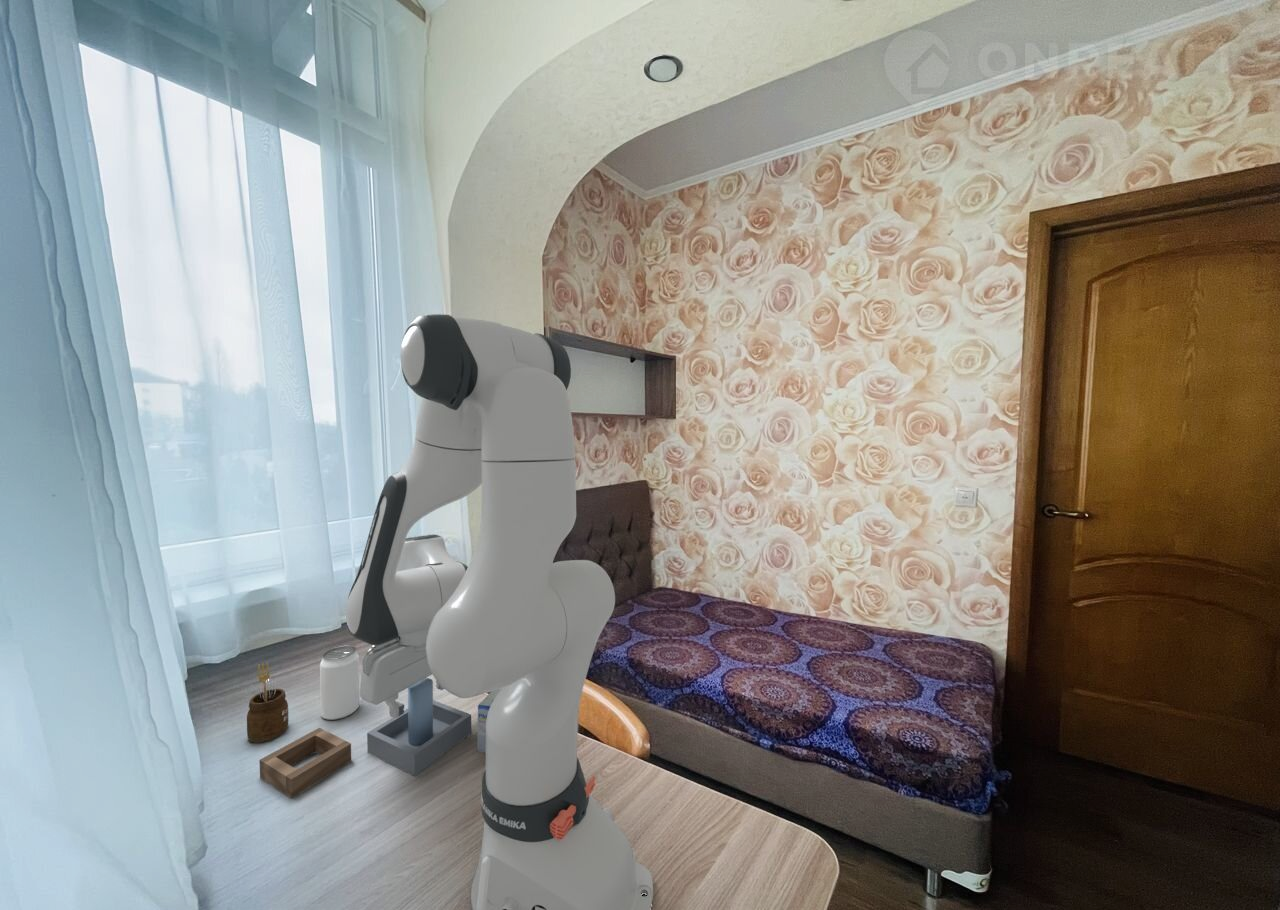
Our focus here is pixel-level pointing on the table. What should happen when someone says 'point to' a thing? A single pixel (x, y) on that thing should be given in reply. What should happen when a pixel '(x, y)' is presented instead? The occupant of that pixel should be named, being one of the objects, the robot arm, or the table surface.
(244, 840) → the table surface
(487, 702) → the medicine box
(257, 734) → the utensil holder
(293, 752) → the collar
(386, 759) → the tray
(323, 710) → the can
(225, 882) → the table surface
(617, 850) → the robot arm
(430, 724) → the dowel
